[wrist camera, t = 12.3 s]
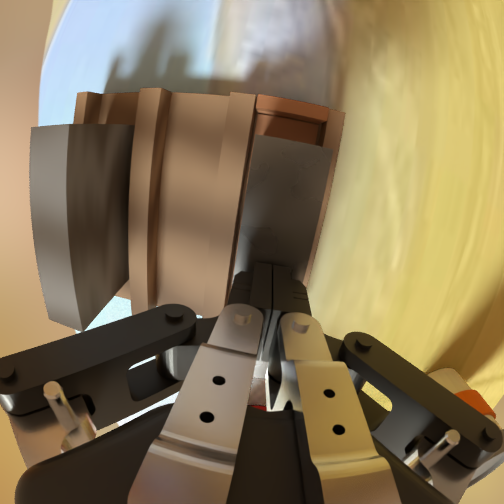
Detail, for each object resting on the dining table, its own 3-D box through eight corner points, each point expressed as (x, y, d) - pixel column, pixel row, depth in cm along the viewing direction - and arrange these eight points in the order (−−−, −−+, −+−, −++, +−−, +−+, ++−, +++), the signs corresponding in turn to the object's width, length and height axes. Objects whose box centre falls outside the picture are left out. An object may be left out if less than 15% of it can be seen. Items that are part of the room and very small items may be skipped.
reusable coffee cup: (441, 344, 25) (498, 447, 11) (480, 370, 27) (523, 446, 13) (368, 411, 29) (390, 512, 16) (419, 425, 31) (443, 502, 17)
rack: (102, 96, 18) (19, 87, 9) (333, 117, 18) (381, 100, 9) (98, 281, 24) (41, 339, 16) (287, 319, 24) (292, 405, 16)
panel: (262, 137, 17) (255, 134, 10) (307, 145, 17) (333, 149, 10) (236, 297, 22) (220, 371, 15) (274, 304, 22) (274, 380, 15)
